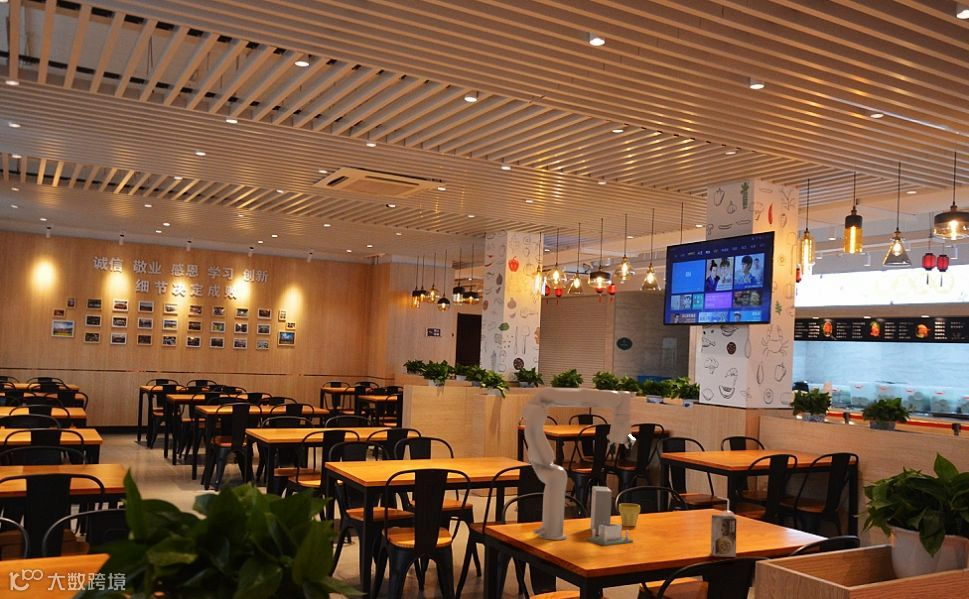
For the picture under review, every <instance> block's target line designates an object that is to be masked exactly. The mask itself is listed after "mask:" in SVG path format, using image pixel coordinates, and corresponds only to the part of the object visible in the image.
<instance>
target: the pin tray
mask: <svg viewBox="0 0 969 599" xmlns="http://www.w3.org/2000/svg"><path fill="white" fill-rule="evenodd" d="M629 531H630V530H628V529H626V530H625V537H623V536H622V539H618V540H609V541H607V533H604V541H603V540H600V539H598V536H597V537H596V534H595V529H593V532H592V537H587V540H588V542H591V543H594V542H595V543H594V544H597V543H598V545H600V546H605V547H607V546H606V545H608V546H613V545H614V544H616V545H623V544H622V543H624V544H631V543H630V542H632V543H634V540H633V539H630V538H629Z"/></svg>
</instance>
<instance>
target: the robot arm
mask: <svg viewBox="0 0 969 599" xmlns="http://www.w3.org/2000/svg"><path fill="white" fill-rule="evenodd" d="M631 398H632V394H631V392H630V391H626V390H617V391H616V390H609V389H601V390H595V389H594V390H593V389H586V388H582V387H581V388H579V387H575V388H574V387H553V386H546V387H544V388H542V389H541V390H540V391H538V392H537V393H536V395H534V396H533V397H532V398H531V399H530V400H529V401H528V402H526V403H525V405H523V406H522V409H521V416H522V419H523V420H524V421H526V422H525V425H524V437H525V440H526V442H527V444H528V448H527V452H526V453H527V454H526V455H527V458H528V460H529V463H530V464H531V467H532V468H533V471H534V473H535V474H536V477H537V478H538V480H540V482H542V483H544V484H545V486H544V490H543V498H542V518H541V519H542V522H541V525H540V526H539V528H534V529H533V532H532V533H533V534H535V535H537V536H538V538H541V539H545V540H553V541H556V540H557V541H559V540H560V541H561V540H565V539H567V537H568V536H567V534H565V533H564V524H565V504H566V503H565V502H566V498H565V497H566V489H567V483H568V474H567V471H566V470H565V468H564V467H562V466H561V465H557V464H554V461H555V459H556V458H555V452H554V450H553V448H552V446H551V444H550V442H549V440H548V439H547V436H546V434H545V431H544V427H545V422H546V420H547V419H548V418H547V417H548V411H547V409H549V407H558V408H559V407H561V408H565V407H566V408H607V409H609V408H610V409H612V408H613V414H612V418H613V420H611V423H610V429H609V433H608V434H607V435H606V438H607V443H608V445H609V455H616V452H617V451H616V450H617V449H616V448H617V446H616V444H621V445H623V444H624V447H625V448H624V457H625V458H631V457H632V454H631V453H632V449H633V447H634V445H635V442H636V438H635V437H633V436H632V424H631V403H632V401H631Z"/></svg>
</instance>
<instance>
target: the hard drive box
mask: <svg viewBox="0 0 969 599" xmlns="http://www.w3.org/2000/svg"><path fill="white" fill-rule="evenodd" d="M612 494H613V491H612V490H611V489H610V488H609V487H607V486H595V485H593V486H592V488H591V505H590V506H591V509H590V530H591V532H592V533H593V529H595V536H596V535H598V536H599V525H607V524H611V522H612V519H611V517H612V515H611V514H612Z"/></svg>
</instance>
